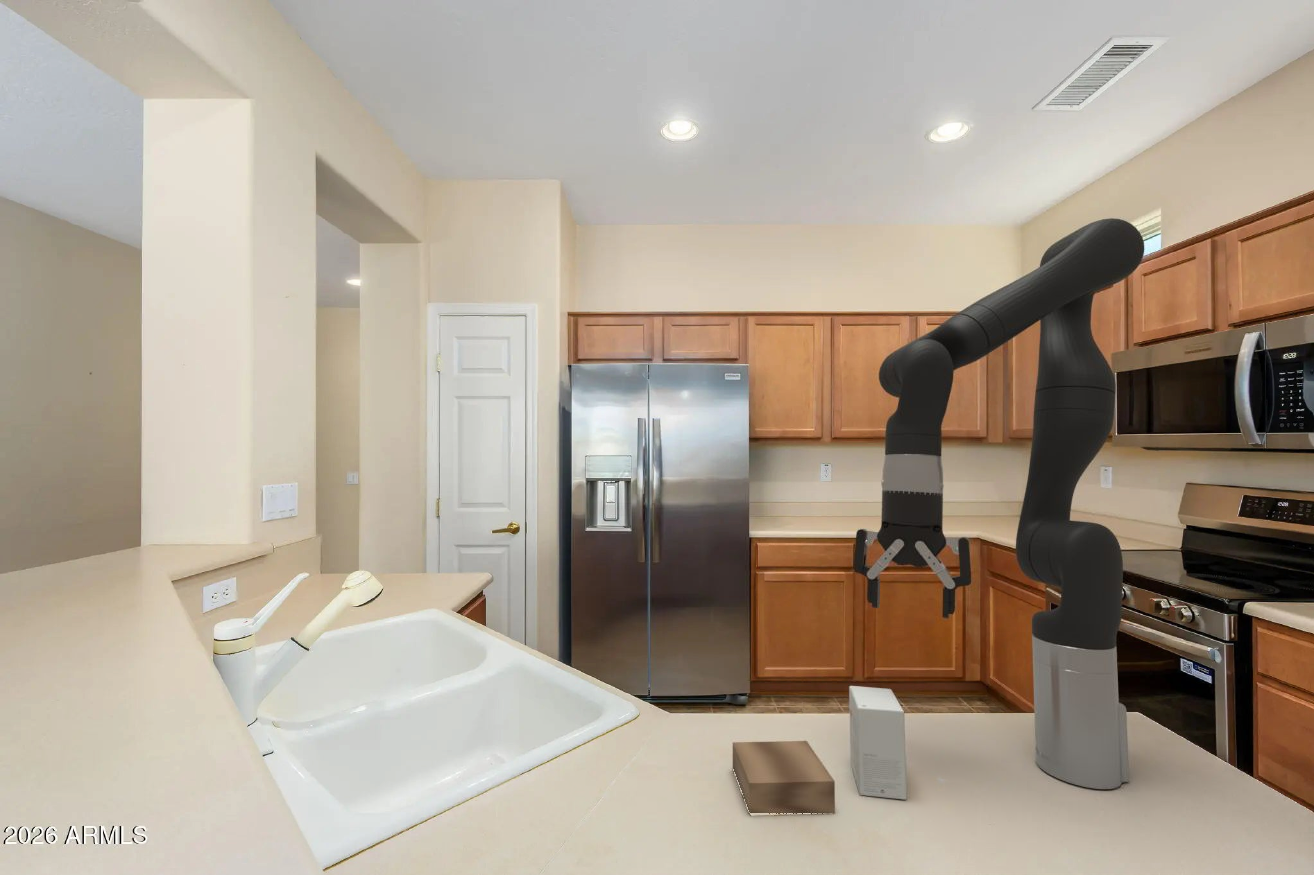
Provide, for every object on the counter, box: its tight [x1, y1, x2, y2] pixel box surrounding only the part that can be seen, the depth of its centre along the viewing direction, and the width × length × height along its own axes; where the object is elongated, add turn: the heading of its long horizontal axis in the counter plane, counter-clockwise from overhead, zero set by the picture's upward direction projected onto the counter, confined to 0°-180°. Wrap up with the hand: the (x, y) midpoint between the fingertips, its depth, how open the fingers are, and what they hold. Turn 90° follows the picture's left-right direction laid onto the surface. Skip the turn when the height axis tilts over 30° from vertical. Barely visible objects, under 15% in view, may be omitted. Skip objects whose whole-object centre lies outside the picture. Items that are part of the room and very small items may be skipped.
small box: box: [848, 685, 907, 800], centre depth 73 cm, size 8×6×10 cm
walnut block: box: [732, 740, 836, 815], centre depth 71 cm, size 10×10×4 cm
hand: (909, 612), depth 76 cm, fingers open, 8 cm apart
